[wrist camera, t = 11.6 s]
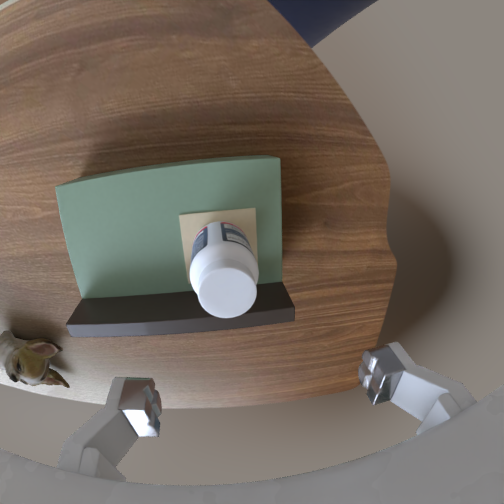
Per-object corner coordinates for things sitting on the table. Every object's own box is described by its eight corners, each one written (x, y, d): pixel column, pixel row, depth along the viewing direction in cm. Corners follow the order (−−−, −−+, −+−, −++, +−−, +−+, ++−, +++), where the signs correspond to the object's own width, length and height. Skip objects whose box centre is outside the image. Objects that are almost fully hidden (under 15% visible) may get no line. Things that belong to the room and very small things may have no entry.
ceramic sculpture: (-27, 341, 24) (50, 373, 28) (-4, 310, 32) (67, 334, 36) (-9, 387, 27) (62, 414, 32) (7, 355, 35) (73, 378, 39)
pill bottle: (201, 277, 28) (200, 333, 20) (185, 228, 26) (175, 270, 18) (254, 264, 28) (272, 315, 20) (241, 213, 26) (256, 249, 18)
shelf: (78, 177, 28) (28, 197, 18) (267, 154, 30) (296, 162, 20) (101, 285, 33) (70, 337, 23) (271, 270, 36) (294, 321, 26)
